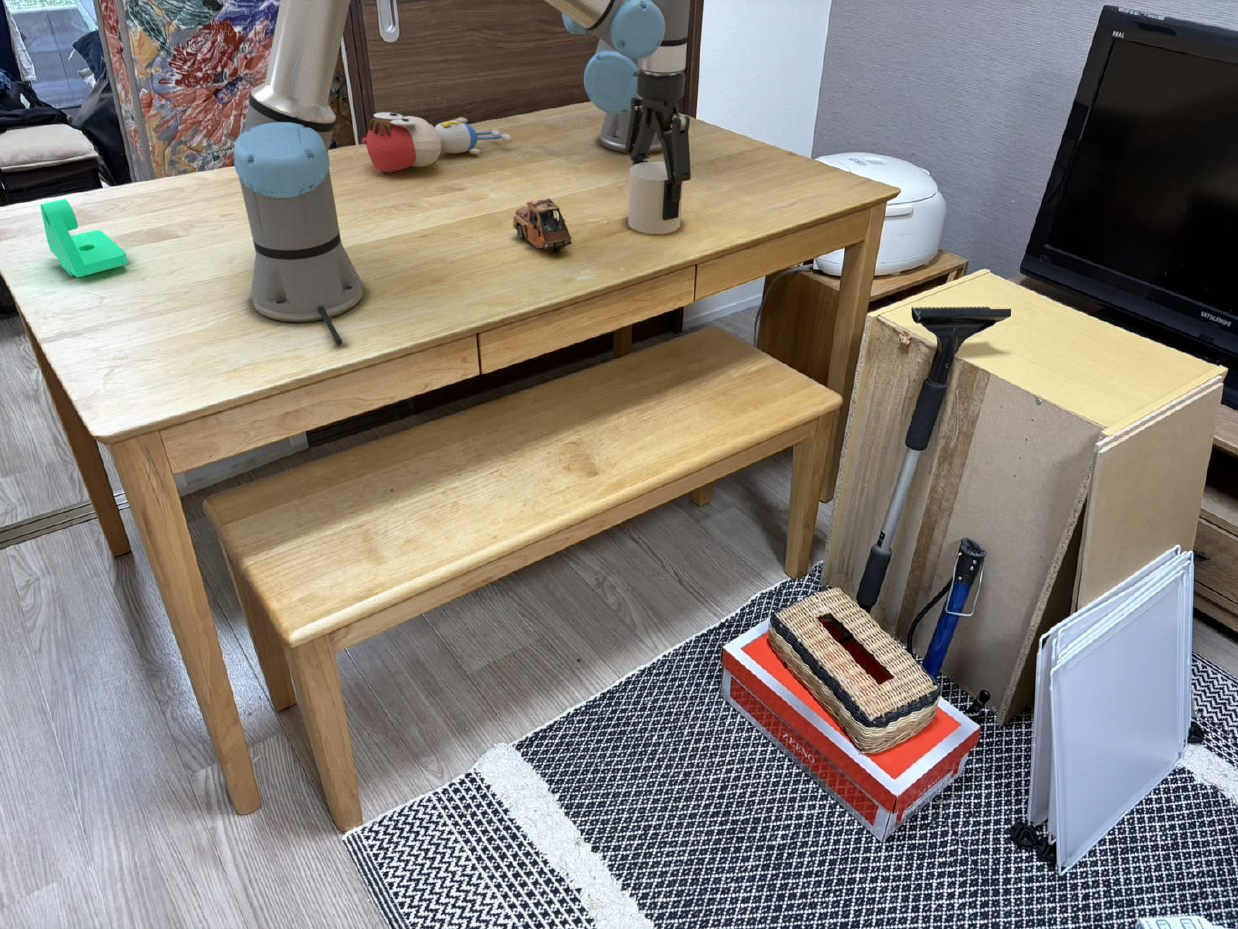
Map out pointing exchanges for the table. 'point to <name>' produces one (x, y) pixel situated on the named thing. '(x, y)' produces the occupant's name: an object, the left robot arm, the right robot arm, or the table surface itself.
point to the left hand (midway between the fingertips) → (654, 208)
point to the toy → (418, 140)
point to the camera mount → (78, 242)
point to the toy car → (542, 225)
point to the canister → (649, 199)
